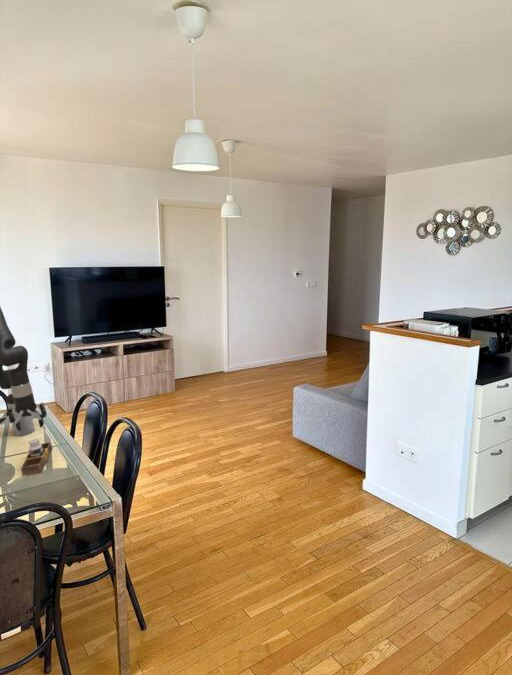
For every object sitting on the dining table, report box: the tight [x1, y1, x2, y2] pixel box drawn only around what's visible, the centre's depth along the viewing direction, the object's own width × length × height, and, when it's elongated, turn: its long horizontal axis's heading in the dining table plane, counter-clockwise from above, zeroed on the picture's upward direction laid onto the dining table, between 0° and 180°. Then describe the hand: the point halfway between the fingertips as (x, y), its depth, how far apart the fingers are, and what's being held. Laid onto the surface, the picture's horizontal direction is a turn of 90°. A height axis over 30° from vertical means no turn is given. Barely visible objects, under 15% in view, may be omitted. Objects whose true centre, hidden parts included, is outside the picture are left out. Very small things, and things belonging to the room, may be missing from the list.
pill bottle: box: [28, 438, 44, 458], centre depth 201 cm, size 5×5×9 cm
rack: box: [20, 441, 53, 477], centre depth 202 cm, size 21×8×4 cm, turn 11°
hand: (31, 428), depth 199 cm, fingers open, 8 cm apart
